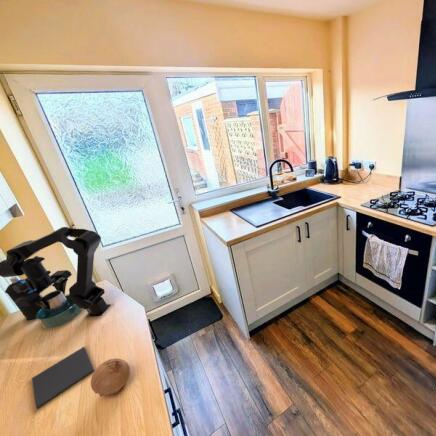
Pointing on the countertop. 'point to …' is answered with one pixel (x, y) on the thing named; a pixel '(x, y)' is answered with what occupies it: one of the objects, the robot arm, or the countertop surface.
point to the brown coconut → (110, 376)
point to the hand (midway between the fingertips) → (56, 302)
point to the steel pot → (56, 301)
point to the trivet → (61, 377)
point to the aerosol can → (27, 311)
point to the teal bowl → (58, 315)
